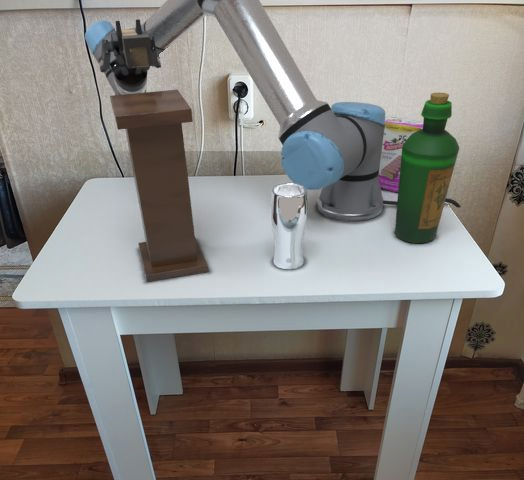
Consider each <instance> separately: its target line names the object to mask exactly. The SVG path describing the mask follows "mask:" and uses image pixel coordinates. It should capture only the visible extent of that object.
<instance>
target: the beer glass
mask: <svg viewBox="0 0 524 480" xmlns="http://www.w3.org/2000/svg"><path fill="white" fill-rule="evenodd" d="M308 203H309V202H308V189H307V188H306V187H305V186H303V185H301V184H296V183H294V182H284V183H279V184H276V185H274V186H273V187H272V188H271V196H270V222H271V227H272V232H273V236H274V237H273V238H274V254H273V261H272V262H273V264H274V266H275V267H277V268H279V269H281V270H282V269H283V270H295V269H298V268H301V267H302V266H303V265H304V262H305V259H304V252H303V241H304V237H305V232H306V227H307V222H308V212H309V211H308V210H309V208H308V206H309V205H308Z"/></svg>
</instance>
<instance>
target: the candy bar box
mask: <svg viewBox="0 0 524 480" xmlns="http://www.w3.org/2000/svg"><path fill="white" fill-rule="evenodd" d="M385 124H386V126H385V129H384V137H383V144H382V152H381V160H380V168H379V176H378V177H379V183H380V188H381V190H383V191H388V192H392V193H397V194H398V189H399V178H400V167H401V155H402V145H403V144H404V143H405V141H406V140H407V139H408V138H409V137H410V135H411V134H413V133H414V132H416V131H418V130H420V129H423V121H422V120H415V119H407V118H401V117H395V116H389V115H385Z"/></svg>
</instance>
